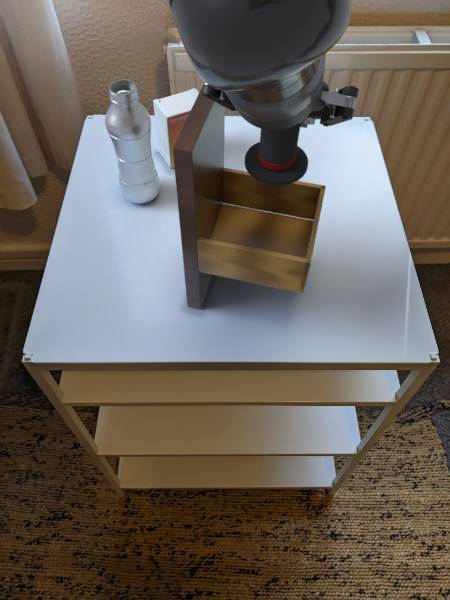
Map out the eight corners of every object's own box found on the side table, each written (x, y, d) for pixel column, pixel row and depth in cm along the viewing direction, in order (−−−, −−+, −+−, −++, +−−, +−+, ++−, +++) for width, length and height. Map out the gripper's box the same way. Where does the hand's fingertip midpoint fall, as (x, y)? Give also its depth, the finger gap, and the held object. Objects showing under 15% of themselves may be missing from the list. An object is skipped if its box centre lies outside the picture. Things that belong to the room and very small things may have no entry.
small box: (170, 169, 88) (165, 118, 80) (158, 151, 91) (151, 99, 82) (211, 156, 91) (210, 104, 82) (197, 138, 93) (195, 86, 85)
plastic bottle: (164, 205, 83) (150, 97, 67) (123, 211, 83) (99, 103, 66) (158, 179, 87) (144, 70, 70) (119, 184, 86) (96, 76, 70)
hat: (311, 149, 57) (324, 84, 51) (302, 190, 53) (314, 126, 47) (252, 138, 58) (256, 74, 52) (238, 179, 54) (241, 114, 48)
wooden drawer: (308, 259, 77) (347, 95, 54) (294, 330, 70) (331, 175, 47) (211, 239, 79) (207, 73, 56) (187, 306, 72) (172, 147, 49)
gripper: (384, 24, 34) (360, 87, 51) (185, -3, 36) (225, 66, 53) (359, 136, 36) (343, 162, 53) (169, 105, 38) (212, 139, 54)
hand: (283, 113), depth 53 cm, fingers closed on hat, 4 cm apart
